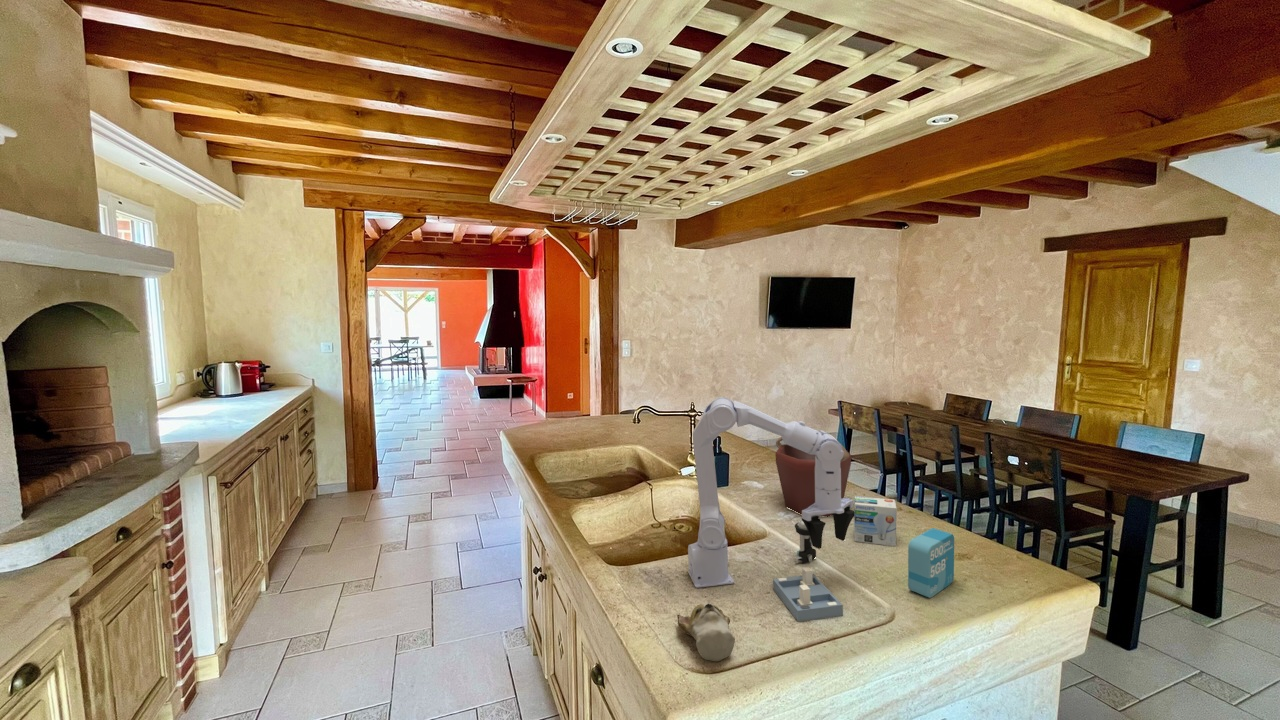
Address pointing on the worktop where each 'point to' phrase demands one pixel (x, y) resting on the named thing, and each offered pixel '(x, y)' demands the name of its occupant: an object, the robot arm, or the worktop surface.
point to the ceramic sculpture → (709, 631)
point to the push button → (804, 544)
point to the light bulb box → (875, 520)
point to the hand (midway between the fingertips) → (828, 542)
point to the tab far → (807, 577)
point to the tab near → (804, 596)
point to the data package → (930, 562)
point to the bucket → (803, 476)
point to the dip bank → (819, 596)
